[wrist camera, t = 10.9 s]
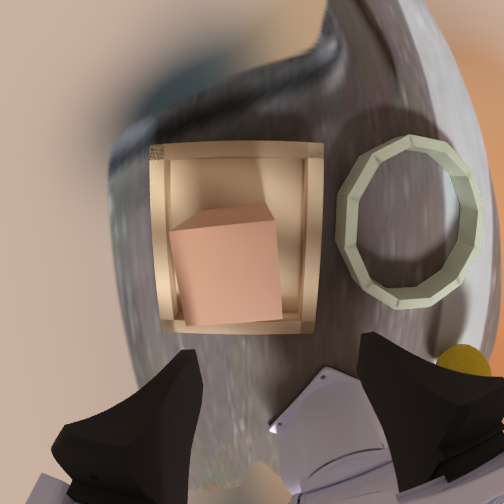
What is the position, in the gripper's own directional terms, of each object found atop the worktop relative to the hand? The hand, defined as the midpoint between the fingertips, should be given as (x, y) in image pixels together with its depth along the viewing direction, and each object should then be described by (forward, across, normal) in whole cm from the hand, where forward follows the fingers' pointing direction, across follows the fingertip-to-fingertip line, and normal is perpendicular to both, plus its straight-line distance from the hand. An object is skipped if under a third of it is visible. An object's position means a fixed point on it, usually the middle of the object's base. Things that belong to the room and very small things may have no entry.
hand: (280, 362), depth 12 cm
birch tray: (+10, +2, -3) cm, 11 cm away
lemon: (+10, -18, +10) cm, 23 cm away
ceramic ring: (+10, -12, -4) cm, 16 cm away
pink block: (+10, +2, -3) cm, 10 cm away
